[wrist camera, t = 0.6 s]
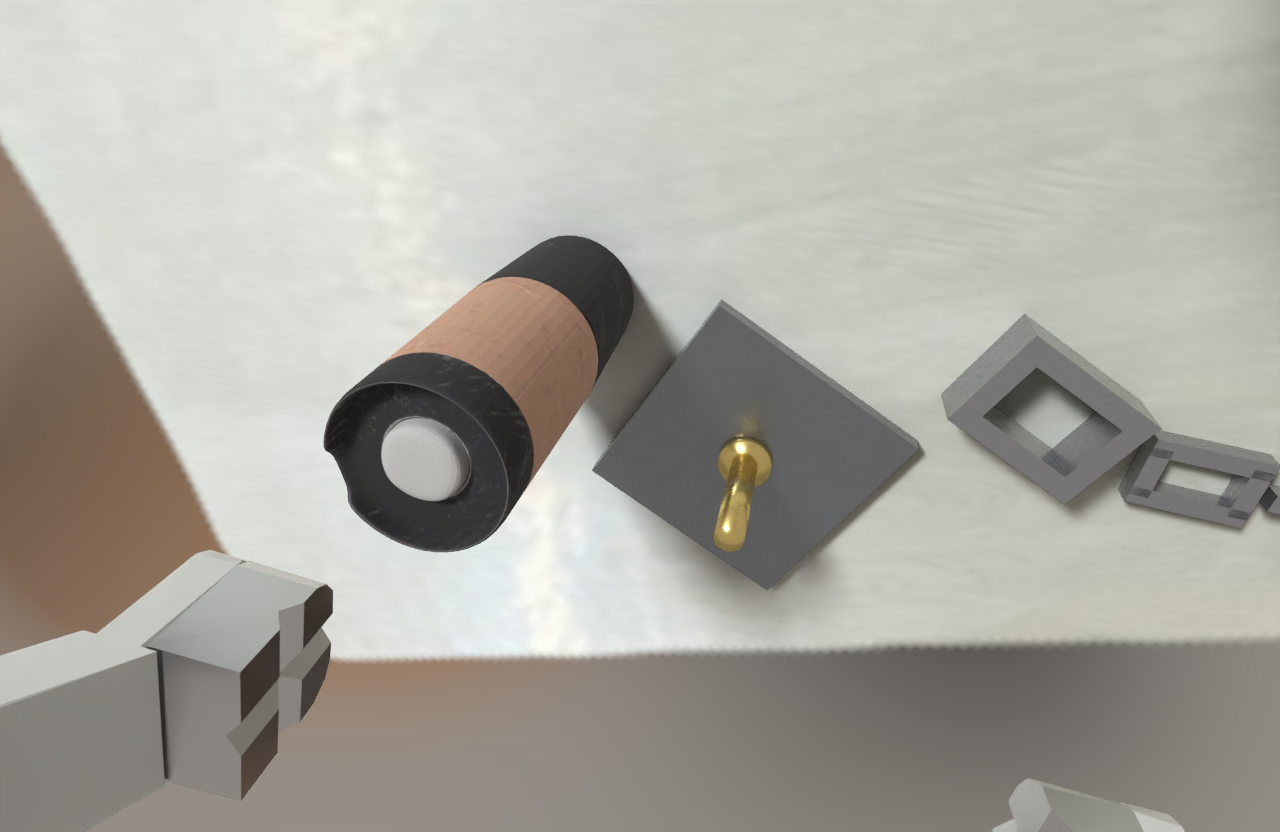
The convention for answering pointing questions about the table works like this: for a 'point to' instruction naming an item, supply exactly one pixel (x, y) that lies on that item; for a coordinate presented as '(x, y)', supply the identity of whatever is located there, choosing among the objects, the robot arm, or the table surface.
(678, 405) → the plate
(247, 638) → the robot arm
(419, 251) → the table surface
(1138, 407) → the end link
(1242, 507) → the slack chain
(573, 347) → the travel mug
